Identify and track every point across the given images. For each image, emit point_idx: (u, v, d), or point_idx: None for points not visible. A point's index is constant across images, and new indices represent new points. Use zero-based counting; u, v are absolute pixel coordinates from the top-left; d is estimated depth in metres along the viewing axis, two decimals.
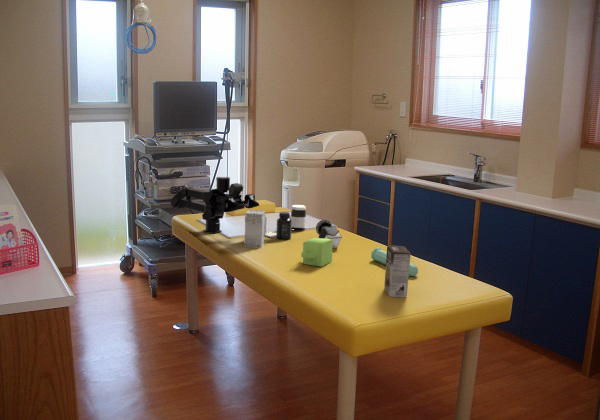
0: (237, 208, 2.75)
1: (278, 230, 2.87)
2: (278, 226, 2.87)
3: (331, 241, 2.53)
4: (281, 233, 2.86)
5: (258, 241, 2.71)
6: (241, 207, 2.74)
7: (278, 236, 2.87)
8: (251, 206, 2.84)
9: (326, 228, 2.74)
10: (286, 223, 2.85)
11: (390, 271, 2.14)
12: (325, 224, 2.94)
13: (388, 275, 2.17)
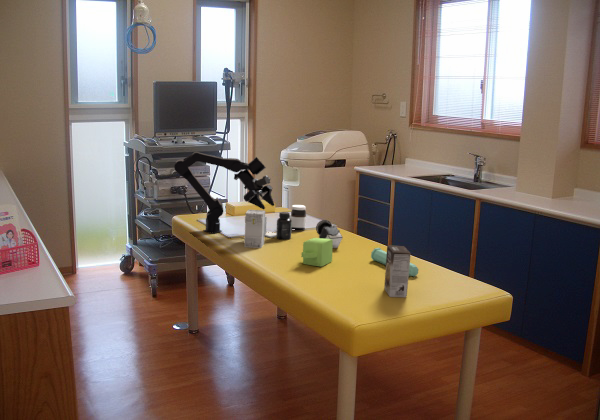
0: (257, 205, 2.86)
1: (278, 230, 2.87)
2: (278, 226, 2.87)
3: (331, 241, 2.53)
4: (281, 233, 2.86)
5: (258, 241, 2.71)
6: (261, 207, 2.86)
7: (278, 236, 2.87)
8: (265, 199, 2.96)
9: (327, 228, 2.74)
10: (286, 223, 2.85)
11: (390, 271, 2.14)
12: (325, 224, 2.94)
13: (388, 275, 2.17)
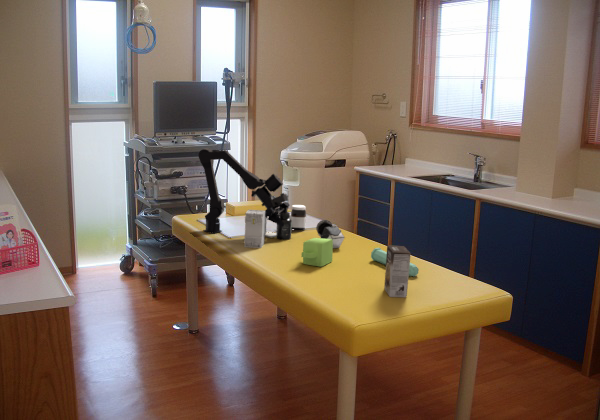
0: (276, 222, 2.85)
1: (278, 230, 2.87)
2: (278, 226, 2.87)
3: (331, 241, 2.53)
4: (281, 233, 2.86)
5: (258, 241, 2.71)
6: (281, 224, 2.85)
7: (278, 236, 2.87)
8: None
9: (329, 228, 2.74)
10: (286, 223, 2.85)
11: (390, 271, 2.14)
12: (324, 224, 2.94)
13: (388, 275, 2.17)
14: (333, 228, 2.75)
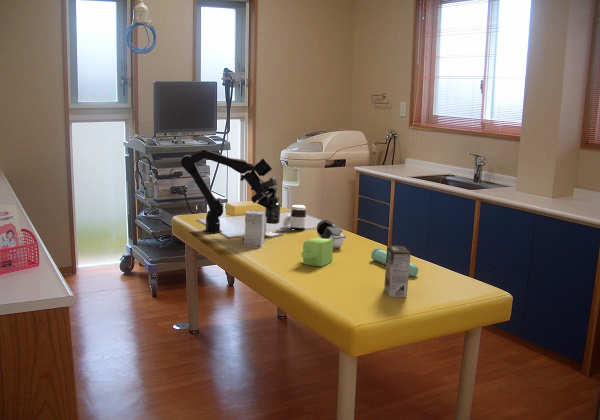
0: (266, 206, 2.88)
1: (267, 214, 2.90)
2: (267, 211, 2.90)
3: (331, 241, 2.53)
4: (270, 217, 2.89)
5: (258, 241, 2.71)
6: (270, 208, 2.88)
7: (267, 220, 2.90)
8: None
9: (330, 228, 2.74)
10: (275, 208, 2.88)
11: (390, 271, 2.14)
12: (324, 224, 2.94)
13: (388, 275, 2.17)
14: (334, 228, 2.75)
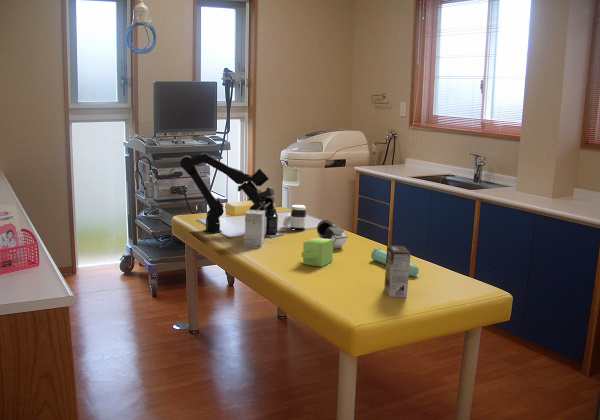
0: None
1: None
2: None
3: (331, 241, 2.53)
4: (268, 228, 2.91)
5: (258, 241, 2.71)
6: (267, 218, 2.89)
7: None
8: None
9: (331, 228, 2.74)
10: (273, 219, 2.91)
11: (390, 271, 2.14)
12: (324, 224, 2.94)
13: (388, 275, 2.17)
14: (335, 228, 2.75)
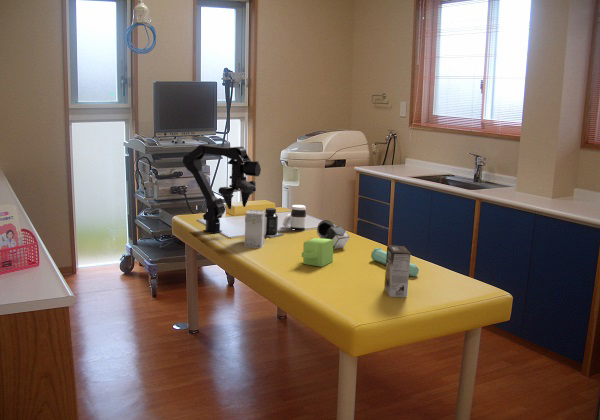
0: (226, 202, 2.85)
1: None
2: None
3: (332, 241, 2.53)
4: (268, 228, 2.91)
5: (258, 241, 2.71)
6: (228, 206, 2.85)
7: None
8: (242, 195, 2.93)
9: (333, 228, 2.74)
10: (272, 219, 2.91)
11: (390, 271, 2.14)
12: (323, 224, 2.94)
13: (388, 275, 2.17)
14: (337, 228, 2.76)
